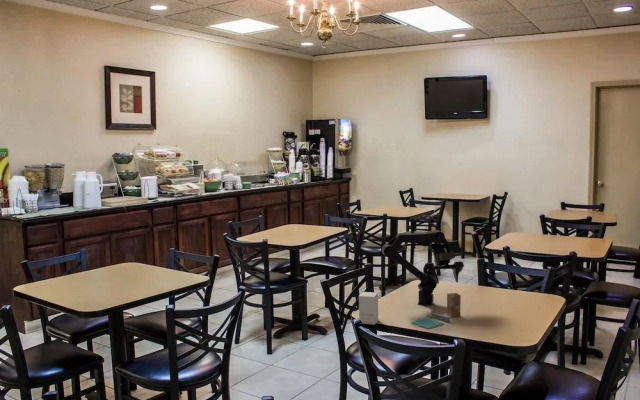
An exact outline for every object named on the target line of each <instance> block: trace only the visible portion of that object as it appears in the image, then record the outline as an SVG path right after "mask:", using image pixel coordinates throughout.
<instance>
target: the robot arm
mask: <svg viewBox="0 0 640 400" xmlns="http://www.w3.org/2000/svg"><path fill="white" fill-rule="evenodd" d="M411 242H412V243H413V242H417V243H418V242H429V244H428V246H427V250H428V251H429V250H432V254H433V257H434V260H433V261H434V262H425V264H424V265H423V268H422V270H420V269H419V268H417V267H416V266H415V265H413V264H412V263H411V262H410V261H408V260H407V259H406V258H405V257H403V256H402V255H401V254H400V252H398V249H399V248H400V247H401V246H402V244H403V243H411ZM381 253H382V254H383V255H384V256H385V257H387V258H388V259H390V260H391V261H394V262H396V263H398V264H399V265H400V266H401V267H403V268H404V269H405V270H407V271H408V272H409V273H410V274H412V275H413V276H415V277H416V279H418V281H420V282H419V283H418V284H417V289H418V302H417V305H421V306H432V305H433V304H434V297H435V296H434V294H433V293H434V290H435V289H436V288H437V285H438V284H439V283H440V281H439V278H438V274H437V270H452V274H453V277H454V280H455V283H458V282H459V274H460V273H461V272H462V270H463V269H464V267H465V264H464V261H461V260H460V261H454V262H453V264H451V261H452V260H453V259H455V257H456V255H460V254H461V246H460V244H459V240H457V239H456V240H452V241H450V240H449V241H448V240H447V239H446V237H445V233H444V232H442V231H440V230H438V229H433V230H428V231H427V232H417V233H416V232H415V233H414V232H411V233H402V232H401V233H397V234H396V235H395V236H394V237H393V238H391V240H388V242H387V243H385V244H384V245H382V246H381ZM434 263H435V264H436V265H435V264H434Z"/></svg>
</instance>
